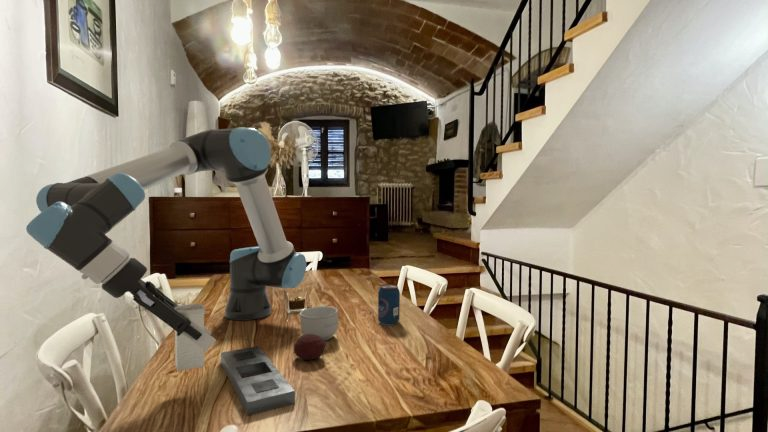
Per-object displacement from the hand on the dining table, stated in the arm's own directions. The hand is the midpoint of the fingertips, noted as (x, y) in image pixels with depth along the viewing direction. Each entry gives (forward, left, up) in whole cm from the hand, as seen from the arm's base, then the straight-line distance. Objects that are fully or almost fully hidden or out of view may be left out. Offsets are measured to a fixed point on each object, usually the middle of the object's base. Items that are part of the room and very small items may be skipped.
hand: (208, 341), depth 87 cm
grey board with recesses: (+3, +9, -10) cm, 13 cm away
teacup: (-17, +33, -10) cm, 38 cm away
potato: (-3, +24, -10) cm, 26 cm away
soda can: (-18, +57, -10) cm, 60 cm away
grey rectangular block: (0, -4, -4) cm, 6 cm away
